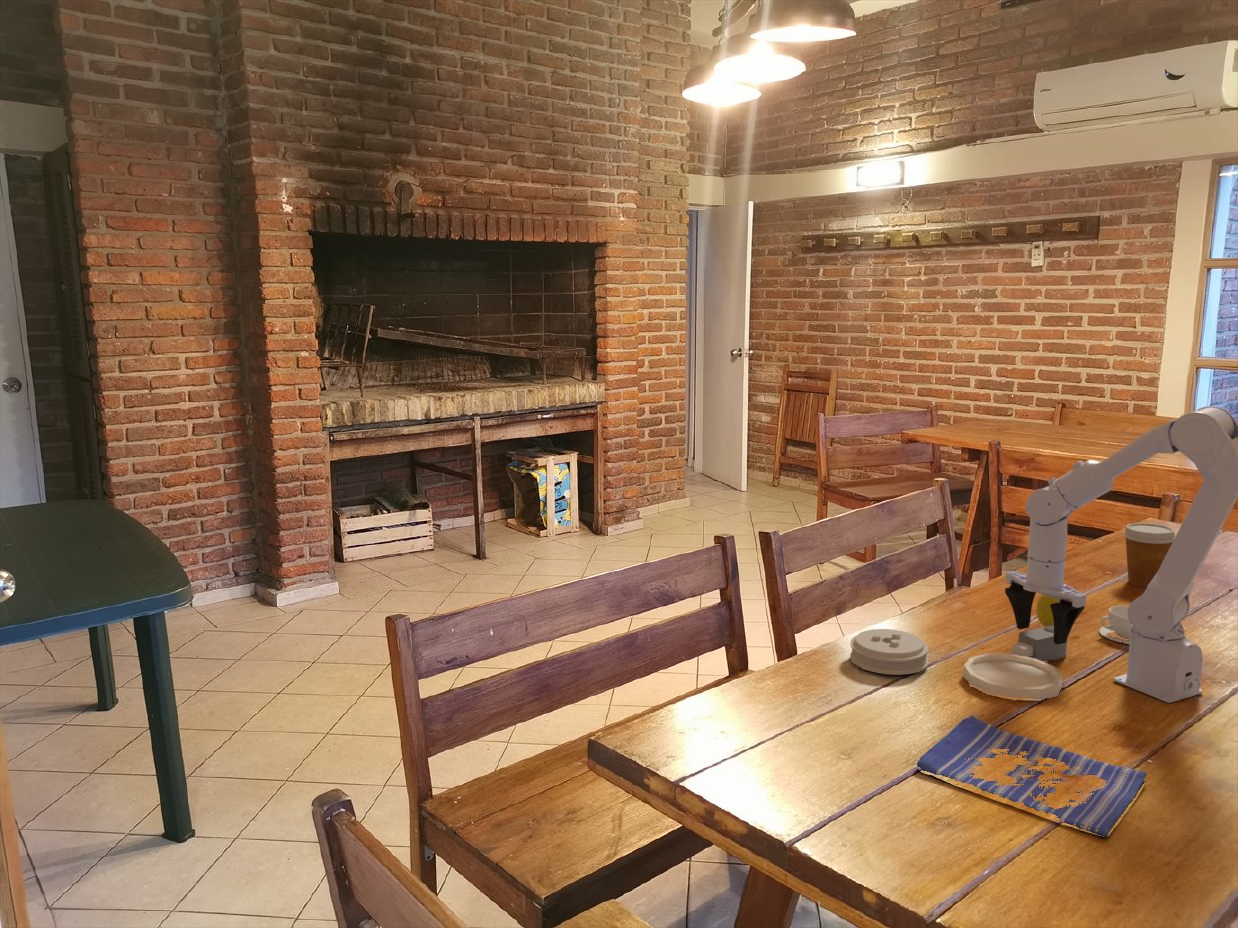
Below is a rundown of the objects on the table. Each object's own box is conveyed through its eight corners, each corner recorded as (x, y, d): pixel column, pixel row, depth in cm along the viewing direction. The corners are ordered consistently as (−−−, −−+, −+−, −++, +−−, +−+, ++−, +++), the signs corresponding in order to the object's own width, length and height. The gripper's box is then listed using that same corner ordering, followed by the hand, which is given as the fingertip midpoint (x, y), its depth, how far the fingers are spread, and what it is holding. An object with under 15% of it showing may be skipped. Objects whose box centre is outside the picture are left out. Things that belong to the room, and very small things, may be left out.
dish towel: (966, 729, 132) (966, 711, 132) (1149, 786, 116) (1151, 765, 115) (910, 775, 120) (911, 755, 120) (1106, 846, 104) (1108, 824, 103)
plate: (1080, 689, 143) (1081, 677, 142) (1014, 708, 137) (1015, 695, 137) (1009, 659, 155) (1009, 647, 155) (946, 674, 150) (946, 663, 149)
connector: (1071, 656, 156) (1072, 631, 155) (1026, 667, 152) (1027, 642, 151) (1052, 648, 159) (1054, 624, 158) (1008, 659, 155) (1009, 635, 154)
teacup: (1146, 627, 168) (1148, 603, 167) (1173, 648, 158) (1175, 622, 158) (1089, 627, 169) (1091, 602, 168) (1112, 647, 160) (1114, 621, 159)
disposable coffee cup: (1125, 589, 189) (1129, 532, 187) (1115, 575, 198) (1119, 521, 196) (1177, 592, 186) (1182, 535, 184) (1164, 578, 195) (1169, 523, 193)
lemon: (1064, 638, 164) (1067, 595, 162) (1031, 632, 167) (1034, 590, 165) (1071, 629, 168) (1074, 587, 166) (1039, 623, 171) (1041, 582, 170)
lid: (899, 687, 146) (900, 657, 145) (834, 664, 156) (835, 636, 155) (943, 665, 154) (944, 637, 153) (879, 644, 164) (879, 618, 163)
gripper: (994, 550, 157) (990, 625, 160) (1066, 572, 144) (1060, 654, 147) (1024, 545, 160) (1019, 618, 162) (1097, 566, 147) (1091, 646, 149)
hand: (1041, 635), depth 155 cm, fingers open, 7 cm apart
